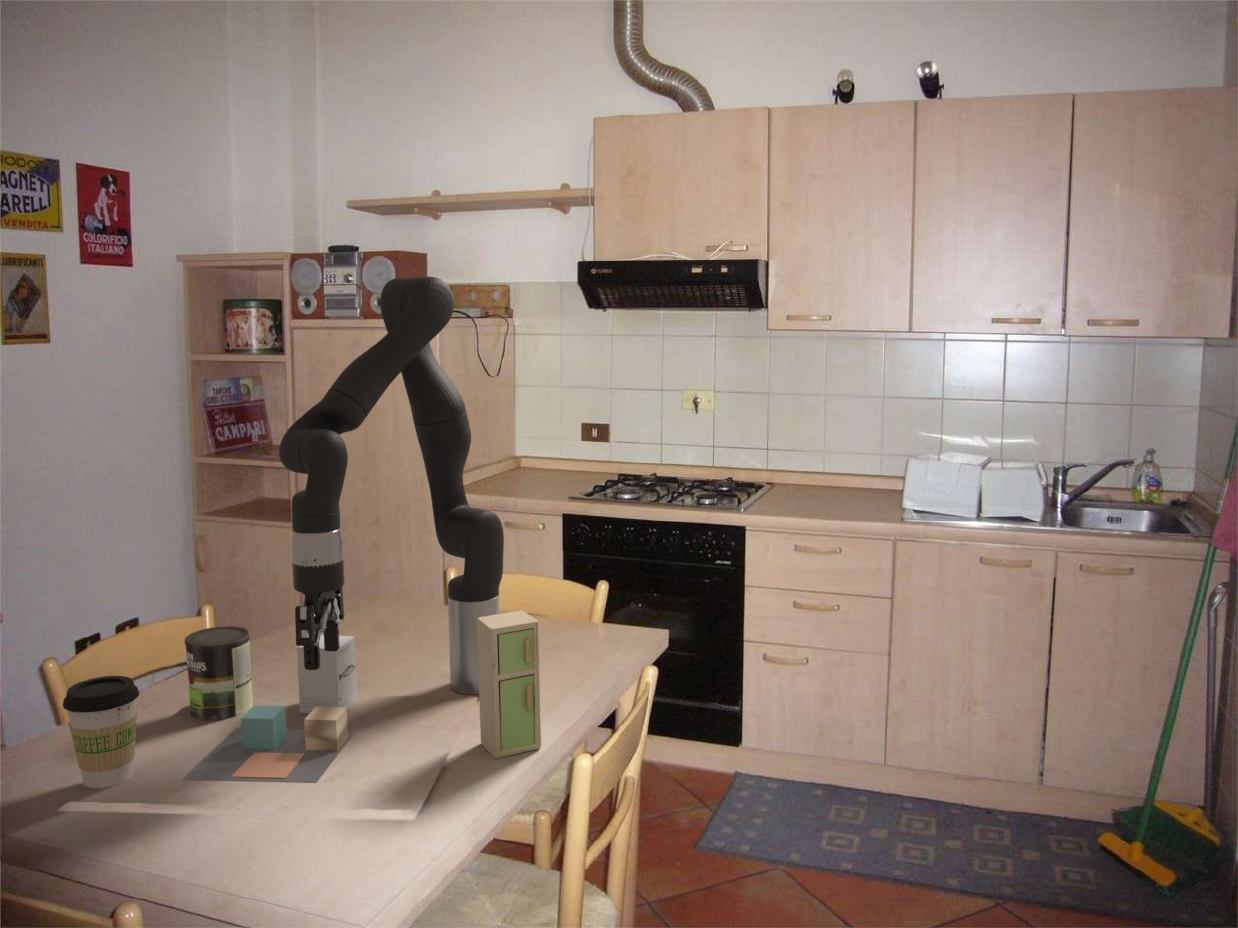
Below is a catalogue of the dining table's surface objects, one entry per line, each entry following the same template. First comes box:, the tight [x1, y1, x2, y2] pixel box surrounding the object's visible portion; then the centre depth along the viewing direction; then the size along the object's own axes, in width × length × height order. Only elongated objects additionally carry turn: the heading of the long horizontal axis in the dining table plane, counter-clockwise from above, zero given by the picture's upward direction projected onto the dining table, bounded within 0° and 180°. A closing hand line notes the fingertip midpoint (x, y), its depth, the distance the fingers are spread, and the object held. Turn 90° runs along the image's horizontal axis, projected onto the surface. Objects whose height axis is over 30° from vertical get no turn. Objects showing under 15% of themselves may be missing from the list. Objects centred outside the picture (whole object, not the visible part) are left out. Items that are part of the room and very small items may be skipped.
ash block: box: [303, 707, 349, 751], centre depth 155 cm, size 5×5×5 cm
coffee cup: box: [62, 675, 140, 789], centre depth 143 cm, size 10×10×15 cm
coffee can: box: [184, 625, 254, 721], centre depth 169 cm, size 10×10×14 cm
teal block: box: [240, 705, 288, 749], centre depth 156 cm, size 5×5×5 cm
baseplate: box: [181, 727, 357, 784], centre depth 152 cm, size 20×18×1 cm
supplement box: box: [296, 634, 358, 715], centre depth 170 cm, size 7×7×13 cm
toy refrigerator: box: [477, 610, 542, 759], centre depth 155 cm, size 8×7×21 cm
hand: (322, 659), depth 153 cm, fingers open, 8 cm apart
